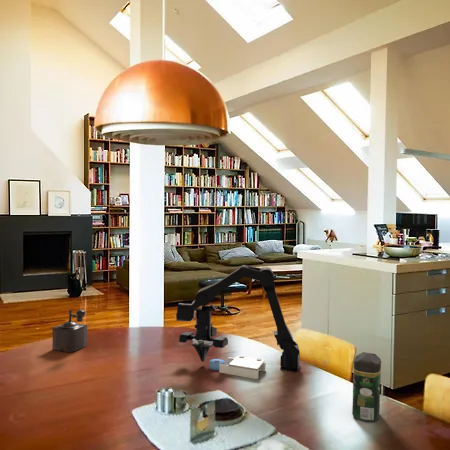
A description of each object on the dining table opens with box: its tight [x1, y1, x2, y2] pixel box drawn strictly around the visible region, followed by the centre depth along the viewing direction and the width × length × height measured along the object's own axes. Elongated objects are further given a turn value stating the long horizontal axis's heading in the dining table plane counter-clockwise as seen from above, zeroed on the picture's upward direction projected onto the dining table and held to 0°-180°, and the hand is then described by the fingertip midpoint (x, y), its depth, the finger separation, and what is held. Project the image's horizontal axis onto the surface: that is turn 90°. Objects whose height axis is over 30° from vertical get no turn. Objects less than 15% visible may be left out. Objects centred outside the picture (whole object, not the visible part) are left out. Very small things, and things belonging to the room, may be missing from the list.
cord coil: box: [208, 358, 226, 371], centre depth 183 cm, size 6×6×3 cm
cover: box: [229, 355, 266, 369], centre depth 179 cm, size 11×9×1 cm
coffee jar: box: [351, 351, 382, 422], centre depth 145 cm, size 10×8×19 cm
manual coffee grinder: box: [51, 308, 88, 353], centre depth 202 cm, size 16×11×18 cm
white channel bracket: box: [218, 356, 267, 380], centre depth 179 cm, size 15×9×3 cm, turn 67°
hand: (202, 361), depth 186 cm, fingers closed
